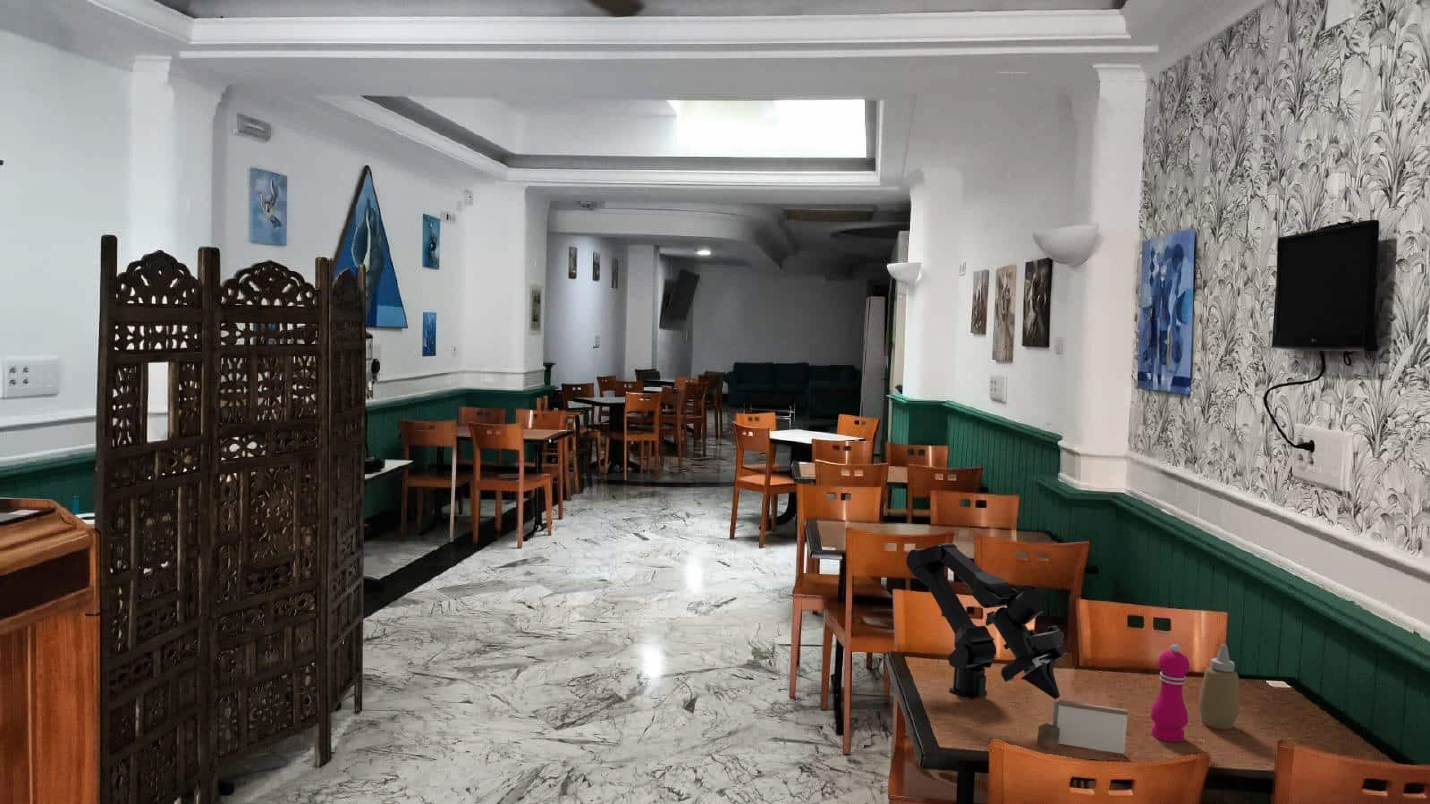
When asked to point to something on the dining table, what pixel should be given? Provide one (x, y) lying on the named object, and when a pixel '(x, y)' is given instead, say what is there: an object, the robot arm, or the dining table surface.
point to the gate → (1091, 725)
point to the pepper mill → (1170, 697)
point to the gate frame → (1048, 736)
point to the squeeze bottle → (1220, 692)
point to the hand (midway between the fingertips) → (1057, 698)
